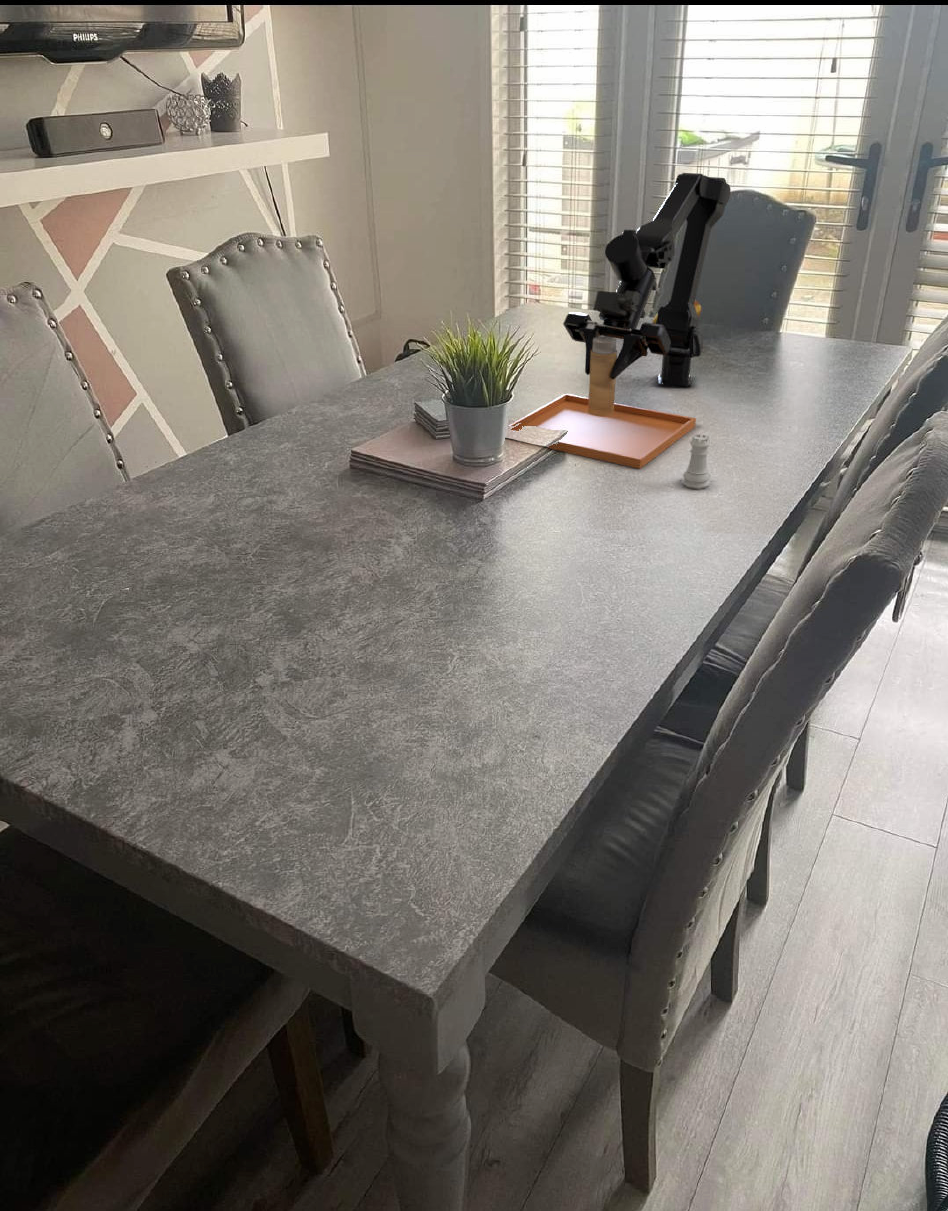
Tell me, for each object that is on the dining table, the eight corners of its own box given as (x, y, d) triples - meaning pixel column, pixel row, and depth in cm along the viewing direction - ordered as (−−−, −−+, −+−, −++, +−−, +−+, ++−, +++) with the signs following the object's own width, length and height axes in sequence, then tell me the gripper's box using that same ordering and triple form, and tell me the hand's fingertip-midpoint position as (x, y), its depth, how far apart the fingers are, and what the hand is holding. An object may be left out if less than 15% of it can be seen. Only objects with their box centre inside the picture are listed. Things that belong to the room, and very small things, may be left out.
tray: (564, 401, 189) (565, 393, 188) (695, 426, 176) (696, 418, 175) (501, 437, 172) (501, 429, 172) (640, 468, 159) (640, 459, 158)
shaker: (602, 405, 175) (606, 334, 168) (619, 412, 171) (623, 340, 165) (582, 410, 173) (585, 338, 166) (599, 418, 169) (602, 344, 163)
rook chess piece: (708, 478, 155) (713, 431, 151) (711, 490, 151) (717, 442, 147) (680, 478, 156) (685, 431, 151) (682, 489, 152) (687, 441, 148)
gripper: (570, 264, 167) (536, 343, 165) (669, 276, 158) (635, 359, 156) (589, 301, 177) (558, 376, 175) (684, 314, 168) (652, 393, 166)
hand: (599, 375), depth 168 cm, fingers closed on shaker, 4 cm apart
